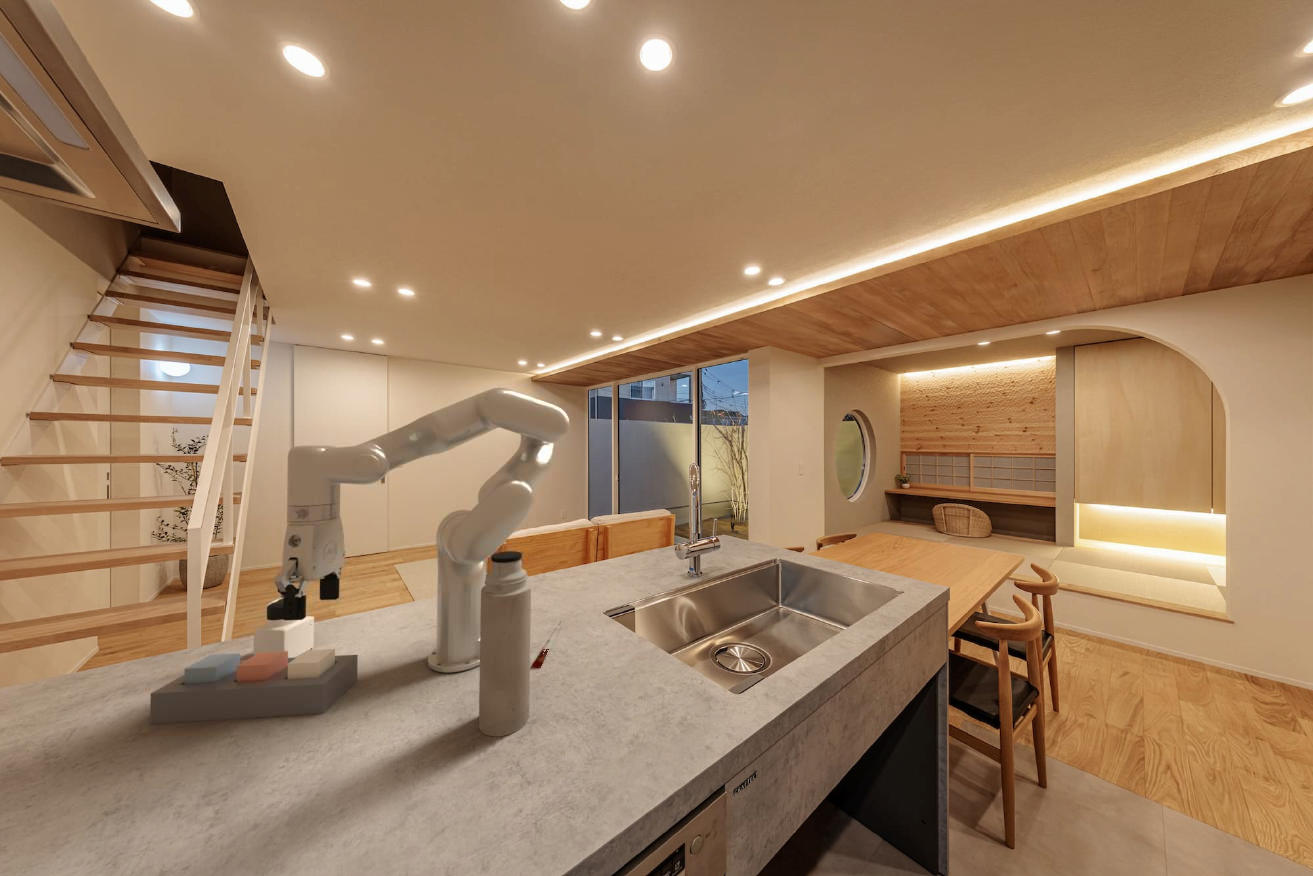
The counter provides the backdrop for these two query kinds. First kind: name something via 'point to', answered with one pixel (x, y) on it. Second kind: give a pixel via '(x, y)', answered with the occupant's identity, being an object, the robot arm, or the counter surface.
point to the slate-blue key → (211, 668)
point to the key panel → (253, 695)
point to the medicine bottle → (283, 632)
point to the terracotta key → (262, 666)
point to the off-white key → (311, 664)
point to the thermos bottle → (505, 646)
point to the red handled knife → (539, 659)
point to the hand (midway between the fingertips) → (313, 608)
